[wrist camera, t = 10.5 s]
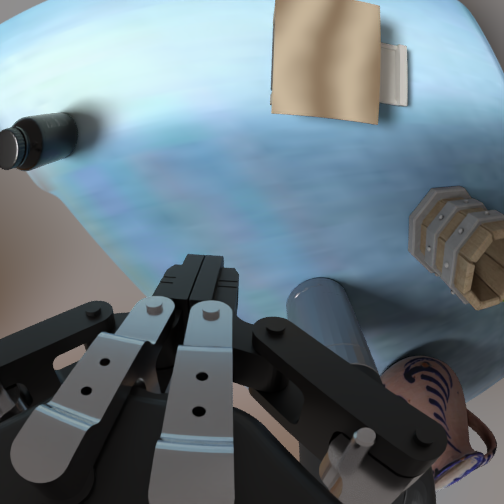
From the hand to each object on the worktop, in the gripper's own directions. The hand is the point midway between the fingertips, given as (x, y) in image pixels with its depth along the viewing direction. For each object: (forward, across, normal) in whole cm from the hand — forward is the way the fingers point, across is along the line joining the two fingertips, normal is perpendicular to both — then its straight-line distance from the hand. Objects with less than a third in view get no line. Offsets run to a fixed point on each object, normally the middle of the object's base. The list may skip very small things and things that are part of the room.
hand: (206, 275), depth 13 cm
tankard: (+27, -33, +7) cm, 43 cm away
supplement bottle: (+27, +26, -6) cm, 38 cm away
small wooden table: (+26, -8, -14) cm, 31 cm away
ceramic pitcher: (+27, -34, +34) cm, 55 cm away
